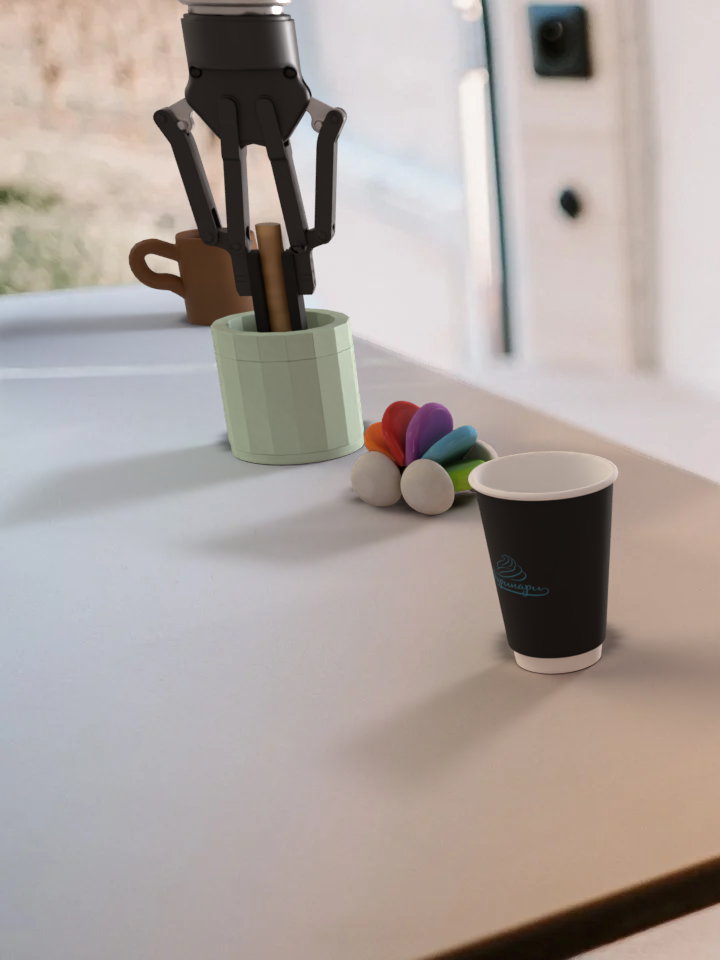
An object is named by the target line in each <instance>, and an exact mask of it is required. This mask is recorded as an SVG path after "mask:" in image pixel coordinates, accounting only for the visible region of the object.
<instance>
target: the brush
mask: <svg viewBox="0 0 720 960" xmlns="http://www.w3.org/2000/svg"><path fill="white" fill-rule="evenodd" d="M254 230H255V238H256V243H257V247H258V250H259V257H260V264H261V270H262V277H263V284H264V291H265V298H266V304H267V311H268V318H269V325H270V332H291V331H292V329H291V322H290V315H289V308H288V301H287V294H286V287H285V279H284V272H283V265H282V258H281V255H282V254H283V253H284V251H285V246H284V239H283V231H282V225H281V223H279V222H274V221H273V222H272V221H269V222H268V221H267V222H258V223H256V224H254Z"/></svg>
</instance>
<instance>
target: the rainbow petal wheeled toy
mask: <svg viewBox="0 0 720 960" xmlns="http://www.w3.org/2000/svg"><path fill="white" fill-rule="evenodd" d="M451 413H452V412H450V410H449V409H448V408H447V407H446V406H444V405H443V404H441V403H439V402H428V403H424V404H423V405H422V406H421V407H420V406H418V405H417V404H416V403H413V402H410V401H407V400H396V401H393V402H392V403H390V404H389V405H388V406H387V407H386V409H385V410H384V412H383V415H382V418H381V421H377V422H374V423H372V424H370V425H369V426H368V427H366V429H365V431H364V434H363V435H364V447H365V449H366V450H367V452H365V453H363V454H362V455H360V456H359V457H358V458H357V459H356V461H355V462H354V463H353V465H352V468H351V471H350V483H351V486H352V489H353V491H354V493H355V494H356V496H357V497H358V498H360V499H361V500H362V501H363V502H364V503H366V504H369V505H370V506H374V507H389V506H392V505H394V504H396V503H397V502H398V501H400V499H401V497H402V498H403V499H404V501H405V502H406V504H407V505H408V506H409V507H410V508H411V509H413V510H415V511H416V512H419V513H420V514H425V515H430V516H433V515H441V514H443V513H446V512H447V511H448V510H449V509H450V508H451V507H452V506H453V503H454V500H455V493H458V492H465V491H469V492H472V493H476V491H475V489H474V488H472V487H471V486H470V484H469V481H468V477H469V474H470V473H471V471H472V470H473V469H474V468H476V467H477V466H479V465H481V464H483V463H485V462H487V461H490V460H493V459H496V458H500V457H499V456H498V454H497V452H496V450H495V449H494V448H493V447H492V446H491V445H490V444H489V443H487V442H485V441H483V440H481V439H478V431H477V430H476V428H475V427H473V426H471V425H469V424H467V425H462V426H458V427H457V428H455V429H454V419H453V416H452V414H451Z"/></svg>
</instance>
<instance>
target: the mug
mask: <svg viewBox="0 0 720 960" xmlns="http://www.w3.org/2000/svg"><path fill="white" fill-rule="evenodd" d="M222 227H223V228H224V229H227V226H226V227H224V226H222ZM250 235H251V240H252V244H251V245H250V248H251V250H252V249H258V244H257V238H256V233H255V232H254V231H253V230H252V229H250ZM174 241H175V242H174V243H171V242H168V241H165V240H163V239H159V238H154V237H153V238H146V239H143V240H140V241H138V242H136V243H135V244H134V245H133V246H132V247H131V249H130V251H129V254H128V265H129V268H130V270H131V272H132V275H133V276H134V277H135V278H136V279H137V280H138V282H140V283H142V284H143V285H144V286H146V287H148V288H150V289H154V290H159V291H168V292H172V293H173V294H175V295H177V296H178V297H180V298H182V299H183V300H184V305H185V311H186V317H187V322H189V323H191V324H193V325H196V326H197V325H198V326H207V327H211V325H212V324H213V323H214V321H215V320H218V319H220V318H223V317H226V316H229V315H233V314H239V313H244V312H249V311H254V307H253V301H252V296H239V294H238V292H237V290H236V286H235V279H234V273H233V266H232V260H231V256H230V254H229V253H228V252H227V251H226V250H224V249H222V248H219V247H216V246H208V245H205V244H204V243H203V242H202V240H201V238H200V234H199V231H198V228H193V229H187V230H183V231H179V232H177V233H176V234H175V236H174ZM148 255H155V256H159V257H162V258H165V259H169V260H171V261H174V262H176V263H177V265H178V272H179V275H176V274H173V273H169V272H156V271H154V270H153V269H151V268H150V266H149V265H148V263H147V261H146V257H147V256H148Z"/></svg>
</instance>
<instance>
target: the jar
mask: <svg viewBox="0 0 720 960" xmlns="http://www.w3.org/2000/svg"><path fill="white" fill-rule="evenodd" d="M305 311H306V318H307V326H308V329H307V330H300V331H291V332H268V333H260V332H257V327H256V321H255V314H254V311H249V312H244V313H239V314H233V315H229V316H226V317H223V318H220V319H218V320H215V321H214V323H213V324H212V325H211V326H210V331H211V337H212V344H213V350H214V358H215V363H216V369H217V376H218V382H219V388H220V395H221V400H222V401H221V402H222V407H223V412H224V419H225V426H226V432H227V437H228V443H229V444H230V449H231V453H232V455H233V457H235V458H237V459H238V460H241V461H244V462H249V463H253V464H259V465H270V466H271V465H272V466H273V465H275V466H276V465H277V466H283V465H284V466H285V465H286V466H289V465H291V466H292V465H302V464H304V465H305V464H310V463H313V464H314V463H319V462H325V461H329V460H334V459H338V458H342V457H345V456H348V455H350V454H353V453H354V452H356V451H358V450H360V449H361V448H362V447H363V446H364V445H365V443H364V435H365V434H364V433H365V427H364V426H365V425H364V419H363V412H362V404H361V395H360V386H359V380H358V372H357V362H356V355H355V347H354V340H353V333H352V332H353V331H352V324H351V317H350V316H348V315H347V314H345V313H343V312H340V311H335V310H332V309H331V310H330V309H323V308H309V307H305Z"/></svg>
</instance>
